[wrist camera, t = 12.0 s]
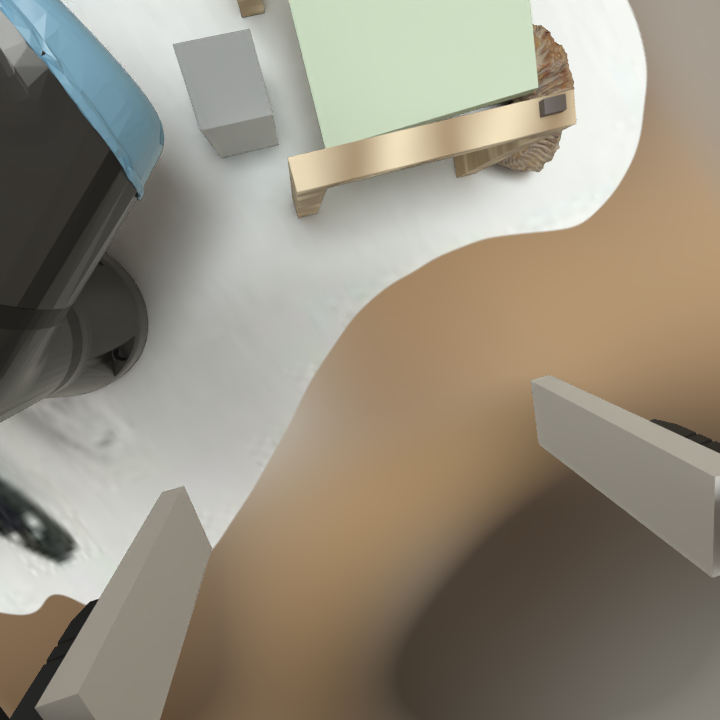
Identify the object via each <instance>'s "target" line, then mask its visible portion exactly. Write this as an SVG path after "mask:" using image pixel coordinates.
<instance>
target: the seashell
mask: <svg viewBox="0 0 720 720" xmlns="http://www.w3.org/2000/svg"><path fill="white" fill-rule="evenodd" d="M532 25H533V24H532ZM533 35H534V46H535V56H536V66H537V77H538V88H537V89H536V90H535V91H534V92H533V93H531V94H528V95H524V96H521V97H518V98H514V99H511V101H513V103H512V104H514V103H518V102H522V101H527V100H531V99H535V98H539V97H543V96H548V95H552V94H556V93H560V92H564V91H569V90H573V89H574V87H573V84H574V81H573V78H572V74H571V71H570V70H569V64H568V59H567V53H566V52H565V51H564V49H563V47H562V45H559V44H557V43H556V42H554V39H553V38H552V37H551V35H550V31H548V30H546V29H545V28H544V27H542V25H539V26H537V25H533ZM561 133H562V131H560V132H558V133H556V134H554V135H552V136H550V137H548V138H546V139H544V140H542V141H540V142H538V143H536V144H533V145H531V146H529V147H527V148H525V149H523V150H521V151H519V152H517V153H515V154H513V155H511V156H509V157H507V158H505V159H503V160H501V161H499V162H497V163H496V164H498V165H502V166H505V167H507V168H509V169H513V170H518V171H521V172H526V171H536V172H540V171H541V170H542V169H543V166H544V164H545V162H549V161H551V160H552V158H553V156H554V154H555V152H556V150H558V149H559V148H560V147H559V141H560V138H561Z"/></svg>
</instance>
